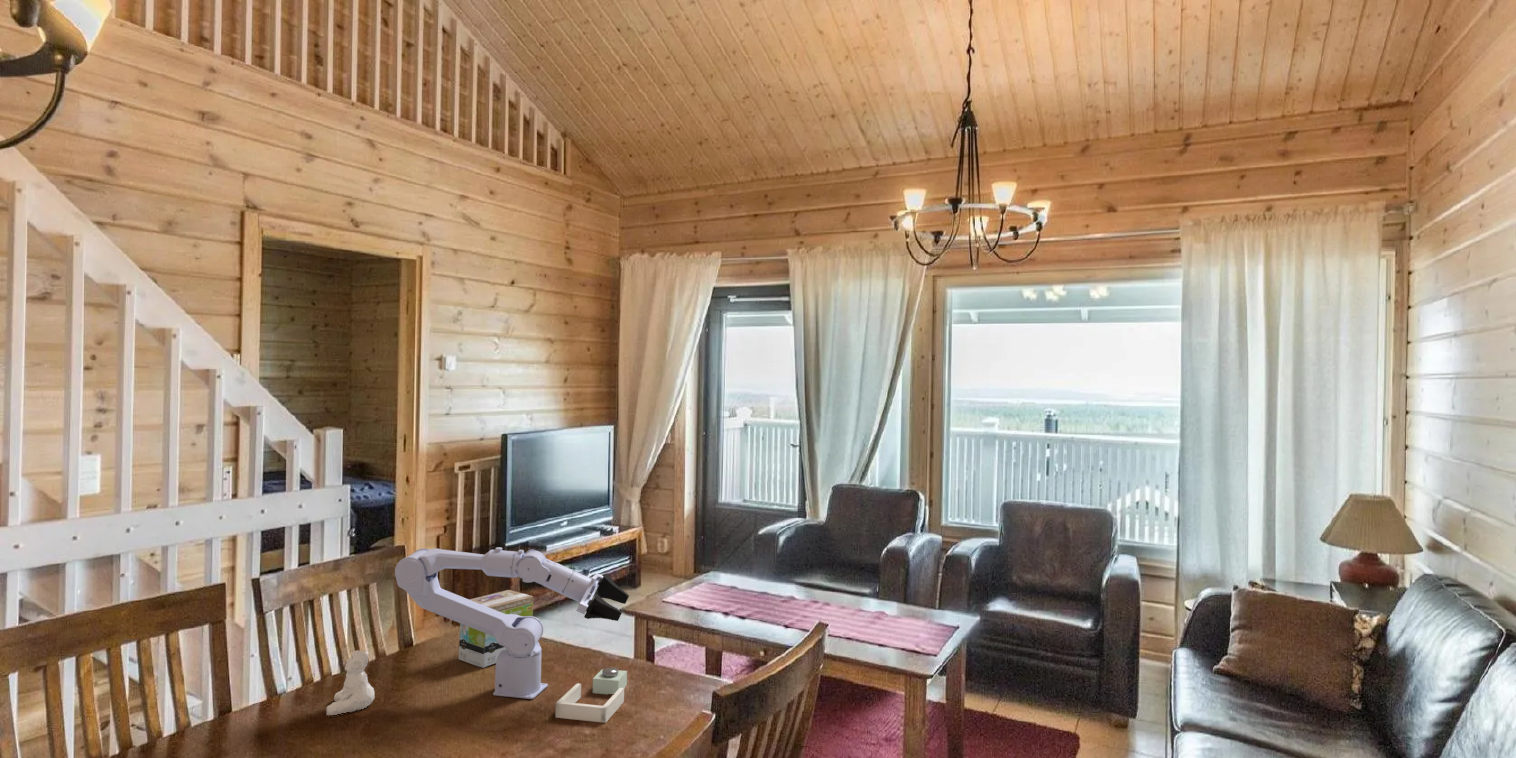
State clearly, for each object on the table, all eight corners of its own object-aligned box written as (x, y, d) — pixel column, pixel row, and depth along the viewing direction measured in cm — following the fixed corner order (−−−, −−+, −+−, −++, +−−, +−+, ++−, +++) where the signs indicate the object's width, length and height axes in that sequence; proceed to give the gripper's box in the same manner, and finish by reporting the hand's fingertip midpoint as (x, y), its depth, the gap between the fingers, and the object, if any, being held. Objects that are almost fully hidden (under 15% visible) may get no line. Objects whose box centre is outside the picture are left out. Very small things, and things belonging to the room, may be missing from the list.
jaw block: (592, 693, 183) (593, 674, 183) (602, 683, 189) (602, 664, 189) (618, 696, 182) (618, 676, 182) (626, 686, 188) (627, 666, 188)
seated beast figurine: (336, 699, 176) (337, 644, 176) (379, 696, 179) (380, 641, 178) (324, 717, 167) (325, 659, 167) (370, 714, 169) (371, 656, 169)
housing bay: (555, 717, 170) (555, 703, 170) (576, 696, 181) (576, 683, 181) (605, 722, 168) (605, 708, 168) (623, 701, 179) (624, 688, 179)
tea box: (484, 669, 196) (485, 608, 196) (457, 660, 201) (458, 600, 201) (533, 652, 208) (534, 594, 208) (506, 644, 214) (507, 587, 214)
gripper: (566, 583, 175) (623, 609, 176) (583, 553, 189) (637, 578, 190) (554, 610, 177) (611, 636, 178) (572, 578, 191) (625, 602, 192)
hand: (623, 608), depth 184 cm, fingers open, 7 cm apart
